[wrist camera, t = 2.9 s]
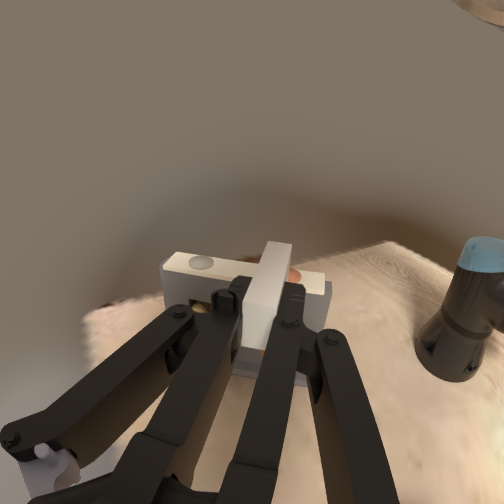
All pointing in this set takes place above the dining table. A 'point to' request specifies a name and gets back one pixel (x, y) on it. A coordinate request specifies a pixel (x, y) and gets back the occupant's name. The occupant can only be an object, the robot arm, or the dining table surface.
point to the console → (220, 277)
